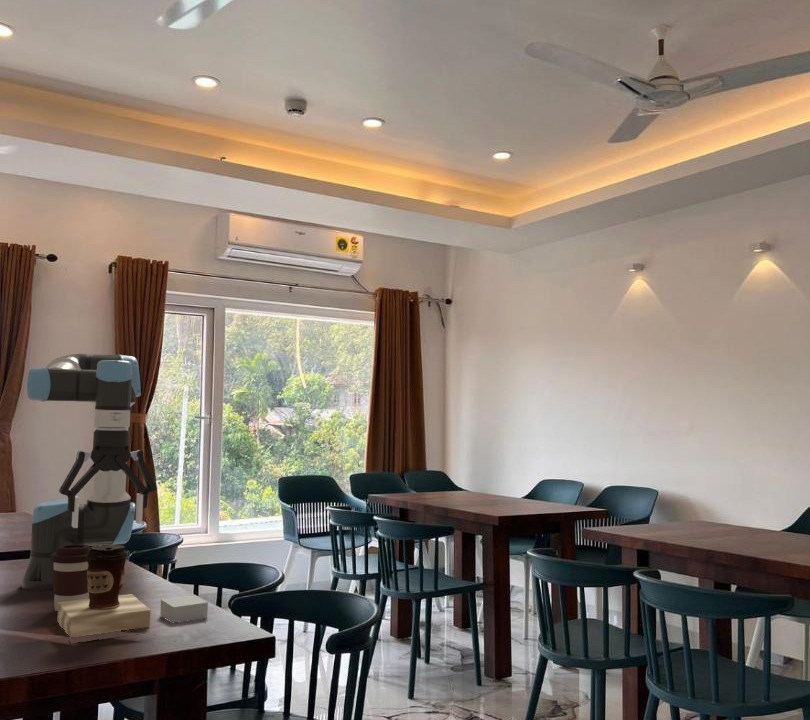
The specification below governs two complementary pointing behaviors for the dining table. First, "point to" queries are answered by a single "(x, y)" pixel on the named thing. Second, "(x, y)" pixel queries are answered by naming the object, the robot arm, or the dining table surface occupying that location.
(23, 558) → the dining table surface
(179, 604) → the grey block
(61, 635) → the dining table surface
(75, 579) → the coffee cup
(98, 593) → the coffee cup
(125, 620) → the beech block
